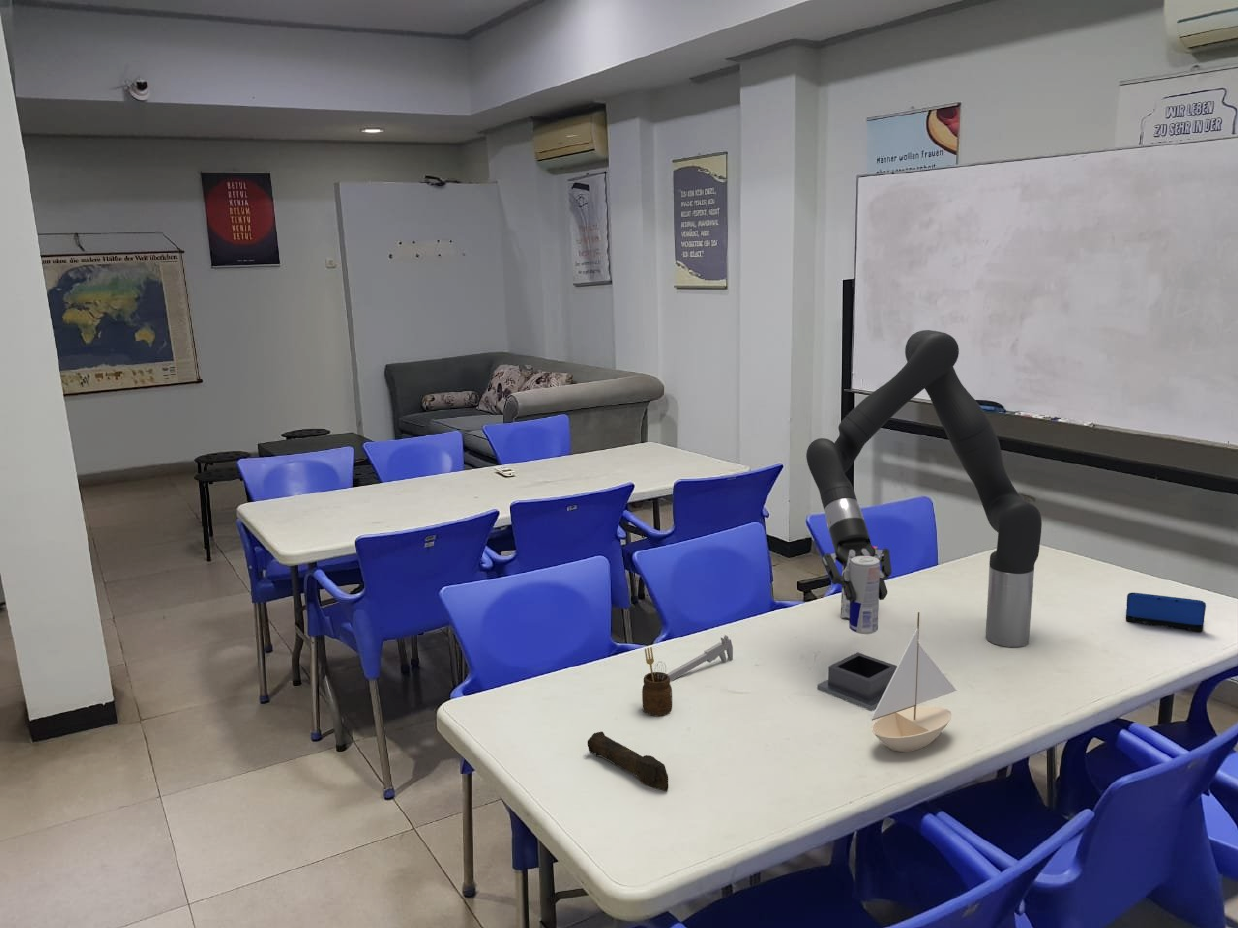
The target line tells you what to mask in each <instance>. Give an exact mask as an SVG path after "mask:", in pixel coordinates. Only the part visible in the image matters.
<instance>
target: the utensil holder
mask: <svg viewBox="0 0 1238 928" xmlns="http://www.w3.org/2000/svg"><path fill="white" fill-rule="evenodd" d="M644 654H645V661H646V664H647V665H649V670H650V672H649V673H647V674H645V675H644V678H643V686H642V689H641V690H642V691H641V693H642V694H641V696H642V697H641V698H642V699H641V701H642V710H643V712H644V713H645V714H647V715H649V716H652V717H663V716H666V715H668V714H670V713H671V711H672V709H673V690H672V689H673V688H672V685H671V681H670V677H669V675H668V674H667V672H664V671H663V668H661V671H656V670H657V668H659V669H660V666H661V665H663V666H664V667H665V669H664V670H667V665H666V663H665V662H663V661H657V662H656V663H655V664H654V662H655V659H654V653H653V648H652V646H650V647H647V648H644ZM653 664H654V665H655V666H656V667H654V671H653V666H652V665H653ZM658 665H659V667H658Z"/></svg>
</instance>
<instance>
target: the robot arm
mask: <svg viewBox="0 0 1238 928" xmlns="http://www.w3.org/2000/svg"><path fill="white" fill-rule="evenodd" d="M904 353H905V358H906V359H905V360H906V361H907V363H906V364H905V365H904V366H903V367H902V368H901V369H900V370H899V371H898V372H897V373H896V374H895V375H894V376H893V377H892V378H891V379H890V380H888V381H887V382H886V383H884V384H883V385H881V386H880V387H879V388H877V389H875V390H874V391H873V392H871V393H870V394H869V395H867V396H866V397H865V398H863V399H862V400H861V401H860V402H859V403H858V404H857V405H856V406H855V407H854V408H852V409H851V411H850V412H849V413H848V414H846V416H845V417H844V418H843V419H842V420H841V421H840V422H839V424H838V433H839V435H838V437H837V438H836V440H835V441H833V440H830V439H829V438H825V437H821V438H815V439H814V440H812V442H810V444H809V445H808V446H807V449H806V453H805V454H806V455H805V456H806V457H805V458H806V463H807V467H808V469H809V471H810V474H811V476H812V478H813V481H814V482H815V484H816V487H817V489H818V491H819V496H820V501H821V503H822V506H823V509H824V515H825V517H824V518H825V522H826V526H827V529H828V532H829V536H830V539H831V544H832V547H833V549H834V553H829V552H826V553H824V555H823V557H822V560H821V562H822V564H823V567H824V569H825V571H826V573H827V575H828V577H829V579H830V581H831V583H832V584H834V585H836V584H838V585H841V587H842V586H843V589H844V592H845V596H846V598H847V600H849V601H850V603H852V602H855V600H856V594H855V591H854V587H853V585H852V582H850V578H851V559H852V558H854V557H857V556H871V557H874V556H876V557H877V559H879V564H880V578H879V601H883V600H885V598H886V597H887V595H888V588H887V586H886V582H885V581H887V580H888V579H889V577H890V576H891V575H892V564H891V558H890V557H891V556H890V549H888V548H887V547H885V548H883V549H882V550H881V549H877V550H875V548H874V547H873V546H874V545H872V543H871V542H872V541H871V538H870V535H869V530H868V528H867V526H866V525H867V524H866V521H865V519H864V515H863V510H861V507H860V505H859V503H858V500H857V495H856V493H855V491H854V489H855V488H854V487H853V484H852V483H851V481H850V480H849V479H848V477H847V475H846V473H847V472H848V470H849V469H850V468H851V467H852V465H853V464H854V462H855V461H856V459H857V458H858V456H859V454H860V453H861V451H862V449H863V448H864V446H865V445H866V444H867V443H868V442H869V440H871V439H872V438H873V437H874V436H875V435H876V434H877V432H879V431H880V429H882V427H883V426H885V424H886V423H888V421H889V420H891V419H892V417H893V416H894V415H895V414H896V413H898V412H899V411H900V410H901V409H902V408H903V407H904V406H906V404H908V403H909V402H911V400H913V398H915V397H916V396H917V395H919V393H920V392H921V391H923V390H925V392H926V393H927V395H928V397H929V399H930V400H931V403H932V407H933V408H934V410H935V412H936V415H937V417H938V420H939V421H940V424H941V426H942V427H943V429H944V432H945V434H946V436H947V439H948V440H949V443H950V446H951V447H952V449H953V451H954V452H955V455H956V457H958V460H959V461H960V463H961V465H962V467H963V469H964V470H965V472H966V474H967V476H968V477H969V479H970V481H971V482H972V483H973V485H974V487H975V489H976V492H977V494H978V497H979V500H980V503H981V505H982V508H983V511H984V514H985V517H986V519H987V521H988V523H989V525H990V526H991V528H992V529H993V530H994V531H996V532H997V545H996V550H994V551H993V552H992V553H991V554H990V555H989V563H988V564H989V566H988V585H987V586H988V587H987V588H988V589H987V601H986V602H987V603H986V619H985V622H986V623H985V635H984V636H985V639H986V640H987V641H988V642H989V643H992V644H994V645H998V646H1002V647H1007V648H1009V647H1010V648H1019V647H1024V646H1027V645H1029V643H1030V637H1031V624H1032V623H1031V621H1032V610H1033V609H1032V608H1033V606H1032V605H1033V592H1034V591H1033V589H1034V573H1035V563H1036V562H1037V560H1038V559H1039V558H1038V557H1039V555H1040V546H1041V536H1042V524H1043V523H1042V516H1041V513H1040V510H1039V508H1037V506H1035V505H1034V504H1033V503H1031V502H1030V501H1028V500H1026V499H1024V498H1023V497H1022V496H1021V495H1020V494H1019V492H1018V491H1017V490H1016V488H1015V487H1014V485H1013V483H1012V482H1011V480H1010V477H1009V476H1008V474H1007V472H1006V469H1005V466H1004V460H1003V453H1002V449H1001V448H1002V447H1001V444H1000V440H999V437H998V435H997V433H996V430H995V429H994V428H993V425H992V423H991V421H990V419H989V417H988V416H987V414H986V412H985V411H984V409H983V408H982V407H981V406H980V404H979V403H978V402H977V401H976V400H975V398H974V397H973V396H972V394H971V393H970V392H969V391H968V390H967V388H966V387H965V386H964V384H963V383H962V381H961V380H960V378H959V377H958V375H957V372H956V370H955V368H954V366H955V364H956V363H957V362H958V359H959V355H960V348H959V344H958V342H957V340H956V339H955V338H954V337H953V336H951V335H950V334H948V333H946V332H943V331H938V330H932V329H931V330H930V329H923V330H919V331H917V332H913V334H912V335H911V336H910V337H909V338H908V339H907V341H906V344H905V348H904ZM836 561H837V562H838V563H840V564H841V566H842V568H843V569H842V570H843V571H842V570H841V571H842V572H841V573H840V571H839V569H838V567H837V565H836Z"/></svg>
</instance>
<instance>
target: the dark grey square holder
mask: <svg viewBox="0 0 1238 928" xmlns="http://www.w3.org/2000/svg"><path fill="white" fill-rule="evenodd" d="M897 666H898V665H896V664H892V663H889V662H888V661H887V662H886V661H885V660H880V659H878V658H875V657H874V656H873V657H872V656H870V655H867V654H863V653H860V652H855V653H853V654H851V655H849V656H847V657H845V658H843V659H842V660H839V661H837V662H834V663H832V664H831V665H829V666H828V669H827V677H828V678H827V679H826V680H824V681H821V683H818V684H817V690H818V691H822V693H823V692H824V693H826V694H828V695H831V696H834V697H836V698H837V699H838V698H839V699H841V700H844V701H846V702H849V703H851V704H853V705H857V706H859V707H861V708H864V709H866V710H869V711H871V712H872V711H873V710H874V711H875V710H876V708H877V706H878V704H879V702H880V700H881V698H882V696H883V694H884V692H885V690H886V688H887V686H888V684H889V682H890V680H891V678H892V676H893V674H894V672H895V670H896V668H897Z"/></svg>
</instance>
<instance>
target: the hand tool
mask: <svg viewBox="0 0 1238 928" xmlns="http://www.w3.org/2000/svg"><path fill="white" fill-rule="evenodd" d="M587 747H588V751H589V753H590V754H594V755H595V757H602V758H604V759H606V760H607V761H609V762H611V763H613V764H614V765H615V766H617V767H619V768H621V769H623V770H625V771H627V772H628V773H631V774H633V775H634V776H636V777H637V779H639V782H640V783H641V784H643V785H645V786H648V787H650V788H652V789H653V788H654V789H657V790H661V791H664V792H667V791H669V774H668V771H667V767H666V766H665V765H666V764H664V763H663V762H662V761H661V760H660V761H659V760H658V759H657V758H655V757H654V756H652V755H649V754H648V755H647V754H644V755H643V756H642V755H640V754H639V753H637V752H635V751H633V750H632V749H630V748H628V747H626V745H625V746H624V745H622V744H621V743H619V742H617V741H616V740H613V739H612V738H610V737H609V736H606V735H605V733H604V732H603V731H596V732H594V733H592V734H591V736H590V737H589V739H588V740H587Z"/></svg>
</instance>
